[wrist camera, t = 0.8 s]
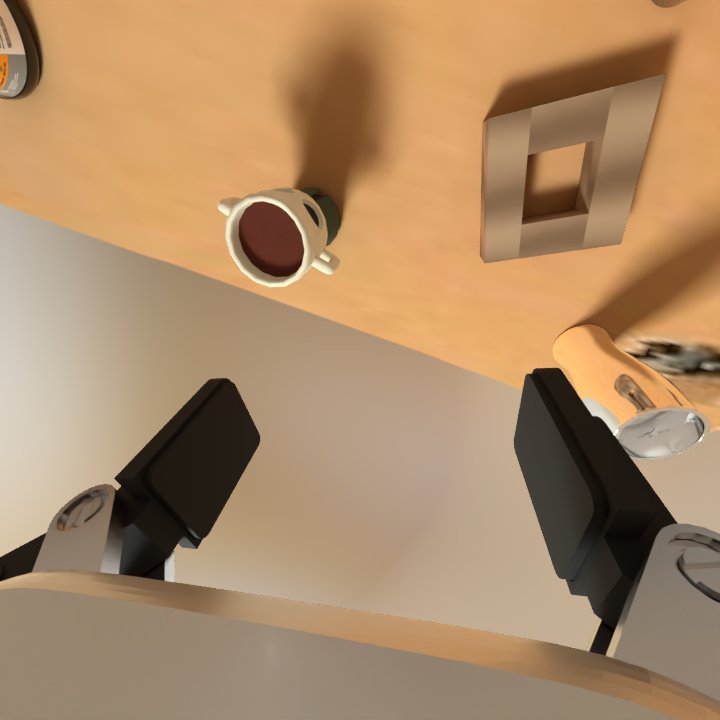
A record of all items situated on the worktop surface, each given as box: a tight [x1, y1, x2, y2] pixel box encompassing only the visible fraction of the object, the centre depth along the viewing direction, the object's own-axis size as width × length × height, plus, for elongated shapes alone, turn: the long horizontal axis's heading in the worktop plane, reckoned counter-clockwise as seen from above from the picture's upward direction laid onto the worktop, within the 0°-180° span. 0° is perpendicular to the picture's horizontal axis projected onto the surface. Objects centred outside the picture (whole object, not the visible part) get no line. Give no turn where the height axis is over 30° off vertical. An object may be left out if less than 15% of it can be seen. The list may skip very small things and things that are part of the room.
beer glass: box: [552, 324, 710, 462], centre depth 31 cm, size 7×7×15 cm
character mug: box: [217, 188, 340, 287], centre depth 28 cm, size 11×7×13 cm, turn 61°
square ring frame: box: [480, 73, 666, 263], centre depth 27 cm, size 12×12×3 cm
